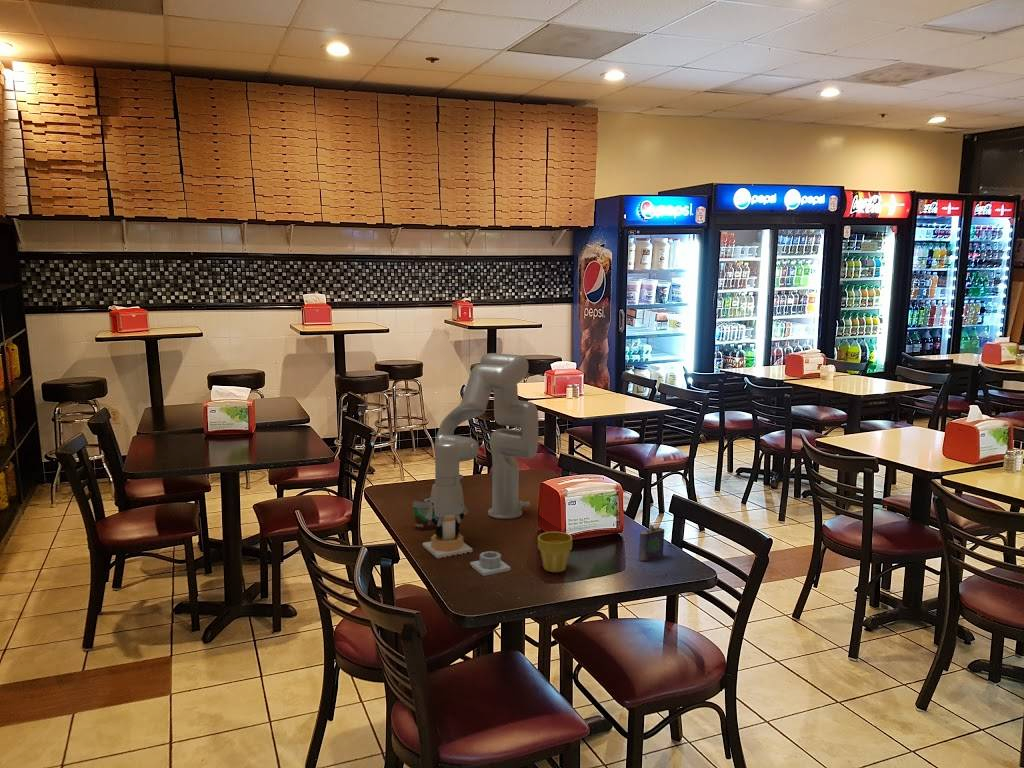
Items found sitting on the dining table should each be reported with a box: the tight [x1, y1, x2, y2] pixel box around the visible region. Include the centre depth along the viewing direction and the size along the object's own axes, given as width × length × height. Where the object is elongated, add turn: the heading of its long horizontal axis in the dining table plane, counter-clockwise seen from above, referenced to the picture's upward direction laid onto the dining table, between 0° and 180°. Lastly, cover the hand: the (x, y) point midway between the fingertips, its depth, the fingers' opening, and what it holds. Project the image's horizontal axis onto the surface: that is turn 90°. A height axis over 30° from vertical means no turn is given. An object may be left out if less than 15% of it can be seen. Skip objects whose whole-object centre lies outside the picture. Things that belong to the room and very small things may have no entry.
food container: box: [412, 497, 435, 530], centre depth 259 cm, size 12×6×10 cm, turn 143°
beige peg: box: [440, 513, 456, 541], centre depth 238 cm, size 5×5×10 cm
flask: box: [638, 523, 665, 562], centre depth 233 cm, size 9×3×11 cm, turn 121°
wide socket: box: [422, 533, 473, 559], centre depth 239 cm, size 12×12×4 cm
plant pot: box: [537, 531, 573, 573], centre depth 224 cm, size 10×10×10 cm
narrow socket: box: [469, 550, 512, 577], centre depth 224 cm, size 9×9×4 cm
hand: (447, 535), depth 238 cm, fingers closed on beige peg, 5 cm apart
